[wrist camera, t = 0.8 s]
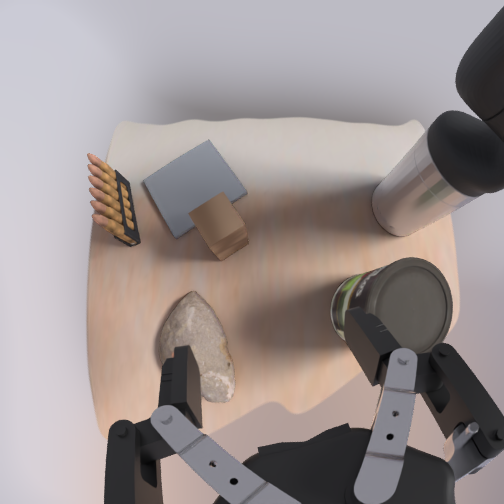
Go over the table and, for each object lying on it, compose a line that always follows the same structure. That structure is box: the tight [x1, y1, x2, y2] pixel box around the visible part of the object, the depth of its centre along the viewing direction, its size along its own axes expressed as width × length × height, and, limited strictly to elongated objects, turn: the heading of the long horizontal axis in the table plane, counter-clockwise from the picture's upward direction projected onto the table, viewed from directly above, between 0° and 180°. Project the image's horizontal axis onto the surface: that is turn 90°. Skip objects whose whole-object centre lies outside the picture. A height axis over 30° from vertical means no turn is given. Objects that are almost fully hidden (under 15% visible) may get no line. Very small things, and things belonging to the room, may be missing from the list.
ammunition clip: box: [87, 153, 141, 247], centre depth 35 cm, size 11×2×12 cm, turn 18°
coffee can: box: [330, 257, 453, 354], centre depth 30 cm, size 10×10×14 cm
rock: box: [159, 291, 235, 403], centre depth 35 cm, size 15×4×10 cm
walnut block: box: [188, 192, 249, 261], centre depth 34 cm, size 4×4×10 cm
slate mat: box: [143, 140, 247, 239], centre depth 40 cm, size 12×11×1 cm
